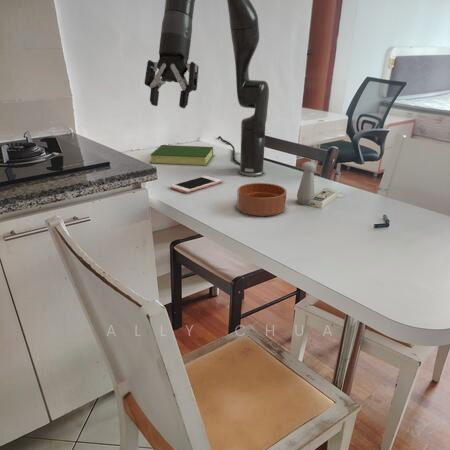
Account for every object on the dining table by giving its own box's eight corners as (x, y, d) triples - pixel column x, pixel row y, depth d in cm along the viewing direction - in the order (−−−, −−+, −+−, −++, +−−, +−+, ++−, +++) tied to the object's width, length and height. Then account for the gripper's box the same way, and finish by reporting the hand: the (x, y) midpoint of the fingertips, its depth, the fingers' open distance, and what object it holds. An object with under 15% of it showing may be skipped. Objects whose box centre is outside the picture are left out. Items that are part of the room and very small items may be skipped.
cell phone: (221, 182, 155) (221, 179, 154) (186, 193, 144) (186, 190, 143) (205, 177, 160) (205, 175, 159) (170, 188, 149) (169, 185, 148)
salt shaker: (303, 206, 133) (307, 165, 126) (292, 201, 138) (296, 161, 131) (317, 203, 136) (322, 163, 129) (306, 198, 140) (311, 159, 133)
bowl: (232, 202, 136) (233, 184, 133) (276, 199, 139) (278, 181, 136) (243, 219, 124) (243, 199, 121) (291, 215, 126) (293, 196, 123)
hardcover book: (213, 155, 191) (213, 146, 189) (205, 165, 175) (205, 156, 173) (160, 153, 194) (160, 144, 192) (149, 163, 178) (148, 154, 176)
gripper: (207, 43, 104) (198, 112, 108) (159, 42, 109) (152, 108, 113) (194, 31, 97) (184, 104, 101) (143, 30, 102) (136, 100, 106)
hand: (167, 106), depth 107 cm, fingers open, 8 cm apart
